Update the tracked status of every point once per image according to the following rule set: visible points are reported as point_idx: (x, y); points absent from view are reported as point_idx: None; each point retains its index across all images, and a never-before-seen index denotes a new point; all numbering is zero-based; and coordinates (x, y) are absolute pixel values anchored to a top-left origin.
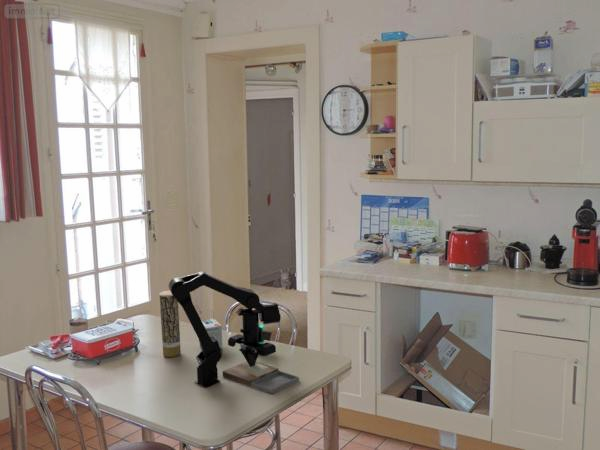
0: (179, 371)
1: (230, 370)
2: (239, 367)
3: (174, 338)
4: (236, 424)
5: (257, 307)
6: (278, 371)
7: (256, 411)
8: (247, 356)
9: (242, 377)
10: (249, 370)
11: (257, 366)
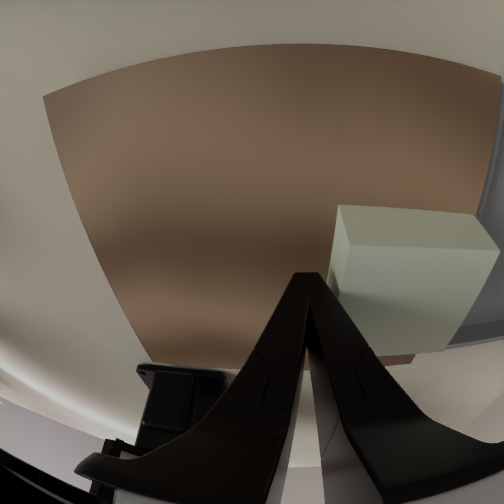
0: (40, 357)
1: (171, 341)
2: (156, 283)
3: None
4: (465, 422)
5: None
6: (502, 94)
7: (495, 388)
8: (290, 445)
9: None
10: None
11: (389, 301)
